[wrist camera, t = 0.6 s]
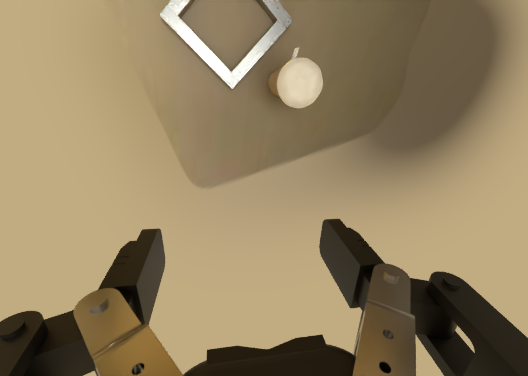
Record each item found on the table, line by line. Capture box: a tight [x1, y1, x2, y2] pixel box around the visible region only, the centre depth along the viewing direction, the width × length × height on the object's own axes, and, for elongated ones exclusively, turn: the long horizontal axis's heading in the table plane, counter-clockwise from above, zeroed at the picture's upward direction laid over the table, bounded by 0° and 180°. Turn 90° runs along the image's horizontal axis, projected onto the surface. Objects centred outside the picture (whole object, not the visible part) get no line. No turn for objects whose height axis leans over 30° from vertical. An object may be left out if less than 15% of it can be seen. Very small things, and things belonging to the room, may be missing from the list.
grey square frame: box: [160, 0, 293, 89], centre depth 28 cm, size 10×10×2 cm
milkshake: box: [268, 47, 323, 108], centre depth 27 cm, size 4×5×10 cm
